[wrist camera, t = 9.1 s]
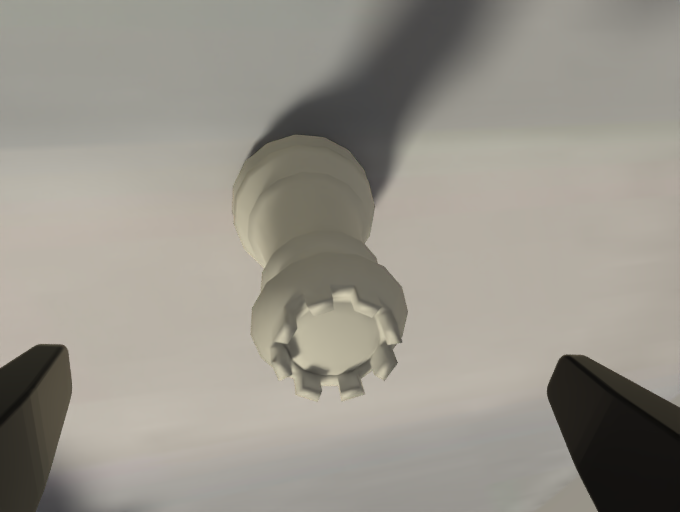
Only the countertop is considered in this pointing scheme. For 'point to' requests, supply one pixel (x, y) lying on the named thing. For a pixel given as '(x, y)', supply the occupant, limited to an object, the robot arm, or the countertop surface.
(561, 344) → the countertop surface
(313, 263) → the rook chess piece
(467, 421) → the countertop surface
